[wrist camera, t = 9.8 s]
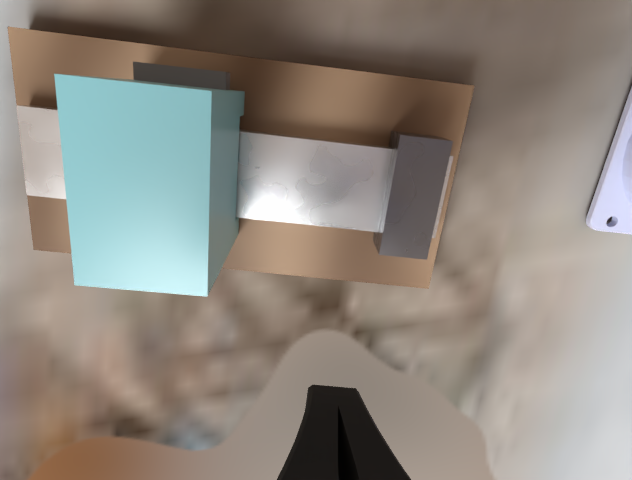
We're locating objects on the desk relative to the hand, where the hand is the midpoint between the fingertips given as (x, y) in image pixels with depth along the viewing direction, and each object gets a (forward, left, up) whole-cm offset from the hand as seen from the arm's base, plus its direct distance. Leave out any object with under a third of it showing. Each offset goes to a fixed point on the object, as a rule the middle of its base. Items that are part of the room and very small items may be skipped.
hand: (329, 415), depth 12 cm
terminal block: (+6, -5, -8) cm, 11 cm away
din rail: (+4, -5, -8) cm, 10 cm away
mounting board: (+4, -5, -9) cm, 11 cm away
